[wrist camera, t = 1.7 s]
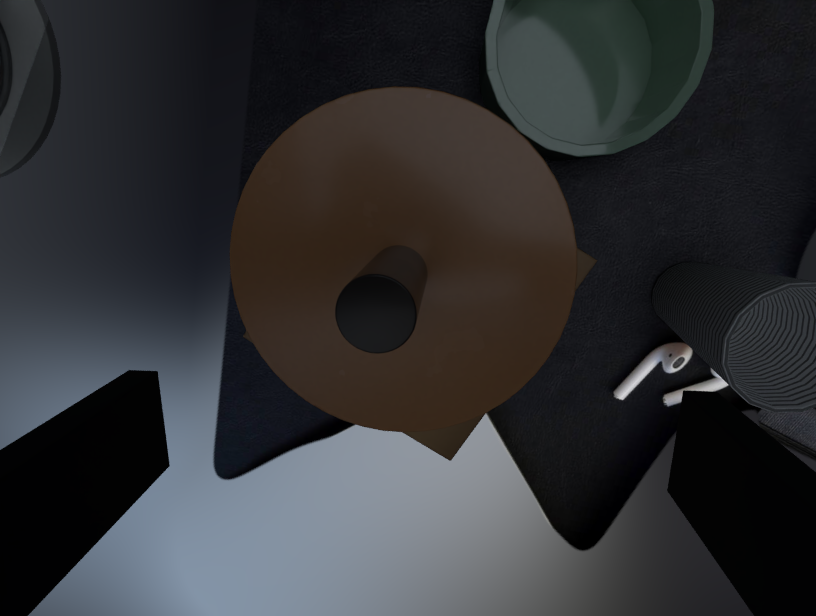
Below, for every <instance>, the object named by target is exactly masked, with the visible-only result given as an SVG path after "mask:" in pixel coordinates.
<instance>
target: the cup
mask: <svg viewBox="0 0 816 616" xmlns="http://www.w3.org/2000/svg"><path fill="white" fill-rule="evenodd" d="M652 305H653V307H654V310H655V312H656V314H657V315H658V316H659V317H660V318H661V319H662V320H663V321H664V322H665V323H666V324H667V325H668V326H669V327H670V328H671V329H672V330H673V331H674V332H675V333H676V334H677V335H678V336H679V337H680V338H681V339H682V340H683V341H684V342H685V343H687V344H688V345H689V346H690V347H691V348H692V349H693V350H694V351H695V352H696V353H697V354H698V355H699V356H700V357H701V358H702V359H703V360H704V361H705V362H706V363H707V364H708V365H709V366H710V367H711V368H712V369H713V370H714V371H715V372H716V373H717V374H718V375H719V376H720V377H721V378H722V379H723V380H724V381H725V382H726V383H727V384H729V385H730V386H731V387H732V388H733V389H734V390H735V391H736V392H737V393H738V394H739V395H740V396H741V397H742V398H743V399H744V400H746V401H747V402H748V403H749V404H751V405H754V406H757V407H759V408H762V409H765V410H768V411H771V412H774V413H775V412H803V411H806V410H809V409H811V408H814V407H816V282H814V281H808V280H802V279H796V278H790V277H784V276H778V275H772V274H765V273H759V272H753V271H747V270H741V269H735V268H729V267H723V266H717V265H711V264H705V263H698V262H684V263H679V264H677V265H675V266H672V267H670V268H668V269H667V270H666V271H665V272H664V273H663V274H662V275H661V276H659V277H658V279H657V281H656V283H655V285H654V287H653V289H652Z"/></svg>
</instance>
